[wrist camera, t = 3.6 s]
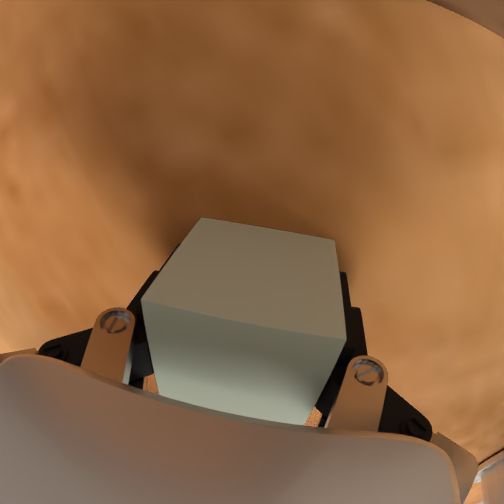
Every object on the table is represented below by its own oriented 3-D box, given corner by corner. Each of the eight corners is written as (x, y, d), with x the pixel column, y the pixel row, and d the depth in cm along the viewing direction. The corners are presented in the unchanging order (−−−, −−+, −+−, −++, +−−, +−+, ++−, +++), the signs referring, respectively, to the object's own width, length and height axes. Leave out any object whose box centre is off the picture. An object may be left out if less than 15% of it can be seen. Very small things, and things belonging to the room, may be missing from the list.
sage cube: (334, 239, 11) (346, 339, 7) (306, 335, 14) (299, 432, 9) (201, 216, 11) (140, 299, 7) (199, 315, 14) (161, 403, 10)
